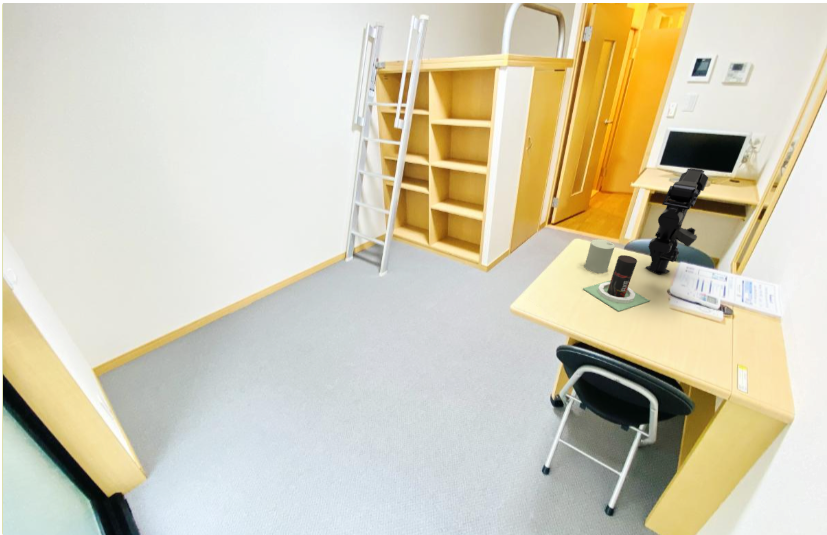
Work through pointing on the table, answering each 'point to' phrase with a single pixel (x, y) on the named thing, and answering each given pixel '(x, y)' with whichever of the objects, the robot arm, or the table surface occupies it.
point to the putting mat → (612, 304)
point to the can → (599, 256)
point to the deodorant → (622, 276)
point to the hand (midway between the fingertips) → (656, 259)
